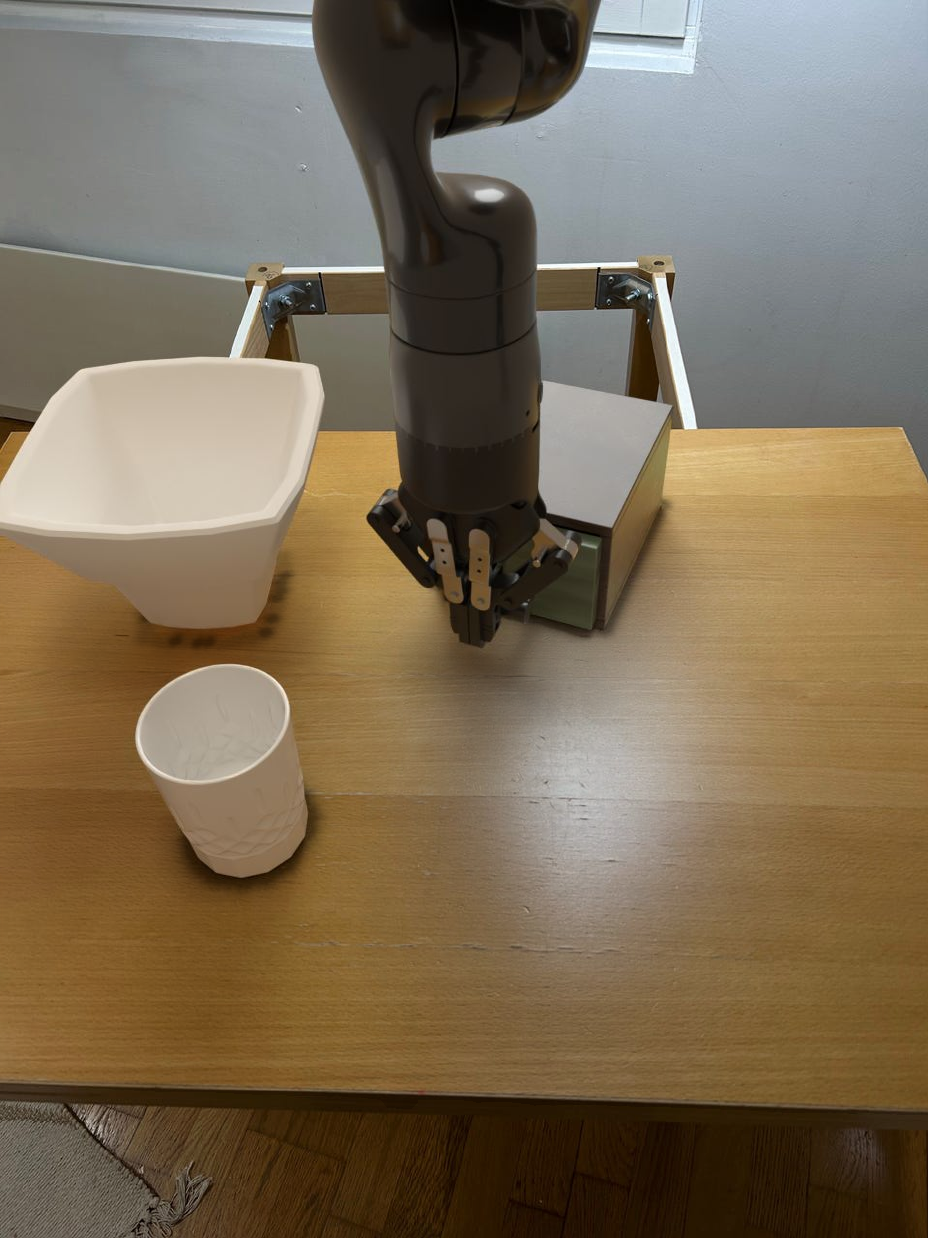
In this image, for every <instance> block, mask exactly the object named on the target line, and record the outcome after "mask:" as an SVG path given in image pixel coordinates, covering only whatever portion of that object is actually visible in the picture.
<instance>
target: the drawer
mask: <svg viewBox="0 0 928 1238" xmlns="http://www.w3.org/2000/svg"><path fill="white" fill-rule="evenodd" d="M555 528H556V529H557V530H558V531H560V532H561V533H564V532H565V531H571V530H567V529H563V528H559V527H555ZM574 532H575V531H574ZM576 533H578V534H579V535H580V536H581V538H582V544H581V546H580V548H579V550H578V552H577V554H576V556H575V558H574V560H573V562H572V563H571V565H570V567H569V569H568V571H567V572H566V573H565V574H564V575H562V576H561V577H560V578H558V579H557V580H555V581H554V582H553V583H551V584H550V585H548V586H547V587H546V588H544V589H543V590H542V591H540V592H539V593H537V594H536V595H535V596H533V597H532V598H530V599H529V600H528V601H526V602H525V603H523V604H522V605H521V606H519V607H518V608H516V609H515V610H507V609H505V608H503V607H502V606H501V619H502V618H503V619H506V620H510V621H513V622H517V623H520V624H526V623H528V621H529V619H530V617H531V615H534V616H538V617H540V618H544V619H548V620H552V621H556V622H558V623H563V624H567V625H571V626H574V627H578V628H580V629H581V628H582V629H585V630H589V631H591V630H592V629H593V628H594V627H593V625H594V623H595V620H596V616H597V603H598V590H599V577H600V564H601V550H602V538H600V535H598V534H594V533H589V532H585V531H581V530H578V532H576ZM534 546H535V544H534V541H533V539H532V538H531V539H530V540H529V541H528V542H527V543H526V544H525V545H523V546H522V547H521V548H520V549H519V550H518V551H517V552H515V553H514V554H513V555H512V556H511V557H510V558H509V559H507V560H506V567H505V574H506V573H513V572H514V570H516V569H517V568H518V567H519V566H521V565H522V564H523V563H525V562H526V561H527V560H529V559H530V558H531V557H532V556H531V551H532V549H533V547H534ZM437 589H438V590H440V591H443V590H442V589H440V588H438V587H437ZM443 600H444V602H445V603H448V604H449V600H448V599H447V598H446V596H445V592H444V593H443Z"/></svg>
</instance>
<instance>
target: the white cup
mask: <svg viewBox="0 0 928 1238" xmlns="http://www.w3.org/2000/svg"><path fill="white" fill-rule="evenodd" d="M296 736H297V735H296V732H295V726H294V721H293V715H292V711H291V706H290V701H289V697H288V695H287V693H286V691H285V689H284V688H283V686H282V685H281V684H280V682H279V681H277V679H275V677H273V676H271V675H270V674H269V673H267V672H265V671H263V670H261V669H258V668H255V667H252V666H249V665H244V664H236V663H221V664H212V665H207V666H203V667H200V668H197V669H193V670H191V671H188V672H186V673H184V674H182V675H180V676H177V677H176V678H174V679H173V680H171V681H169V682H168V683H167V684H165V685H164V686H163V687H161V688H160V689H159V690H158V691H156V693H155V694H154V695H153V696H152V697H151V699H149V700H148V701H147V703H146V705H145V706H144V707H143V709H142V711H141V713H140V715H139V718H138V720H137V724H136V726H135V736H134V737H135V738H134V740H135V747H136V750H137V753H138V756H139V758H140V760H141V761H142V763H143V765H144V767H145V769H146V770H147V772H148V774H149V776H150V777H151V779H152V782H153V783H154V785H155V787H156V788H157V790H158V793H159V794H160V796H161V798H162V800H163V801H164V803H165V806H166V808H167V809H168V811H169V812H170V814H171V815H172V817H173V818H174V821H175V822H176V824H177V825H178V828H179V829H180V830H181V832H182V833H183V834H184V836H185V837H186V838H187V840H188V841H189V843H190V845H191V848H192V849H193V851H194V854H196V856H197V859H199V860H200V861H201V863H204V864H205V865H206V866H207V867H208V868H210V870H212V871H213V872H214V873H216V874H220V875H225V876H228V877H229V876H230V877H234V878H240V879H242V878H248V877H252V876H256V875H257V876H258V875H262V874H266V873H270V871H272V870H274V869H275V868H277V867H278V866H280V865H281V864H283V863H284V862H286V861H287V860H289V859H290V858H292V856H293V854H294V853H295V852H296V851H297V849H298V848H299V846H300V845H301V843H302V841H304V838H305V837H306V833H307V825H308V818H309V810H308V806H307V800H306V795H305V782H304V776H303V771H302V762H301V757H300V752H299V746H298V741H297V737H296Z"/></svg>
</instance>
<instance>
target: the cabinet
mask: <svg viewBox="0 0 928 1238" xmlns="http://www.w3.org/2000/svg"><path fill="white" fill-rule="evenodd" d="M541 380H542V382H543V397H542V402H541V406H540V464H539V483H538V488H539V492H540V495H541V497H542V499H543V501H544V503H545V505H546V508H547V515H546V520H547V521H548V522H549V523H552V524H556V525H560V526H564V527H568V528H573V529H577V530H581V531H585V532H589V533H594V534H598V535H600V538H602V550H601V564H600V577H599V590H598V603H597V616H596V620H595V623H594V625H593V627H592V628H596V629H600V630H603V631H604V630H605V629H606V627H607V624H608V622H609V620H610V618H611V616H612V614H613V611H614V609H615V607H616V605H617V602H618V600H619V598H620V597H621V594H622V591H623V590H624V587H625V585H626V582H627V580H628V578H629V577H630V574H631V572H632V569H633V568H634V566H635V563H636V561H637V558H638V556H639V554H640V552H641V549H642V548H643V545H644V543H645V541H646V539H647V536H648V534H649V532H650V530H651V528H652V526H653V524H654V521H655V519H656V517H657V515H658V513H659V511H660V508H661V506H662V502H663V501H662V500H663V494H664V485H665V478H666V471H667V470H666V469H667V464H668V463H667V462H668V454H669V446H670V439H671V438H670V437H671V431H672V425H673V424H672V422H673V415H674V408H675V407H674V405H673V404H669V403H663V402H658V401H653V400H648V399H643V398H638V397H632V396H629V395H628V396H627V395H622V394H616V393H611V392H607V391H601V390H596V389H590V388H584V387H580V386H574V385H570V384H566V383H565V384H564V383H559V382H554V381H550V380H543V379H541Z"/></svg>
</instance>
